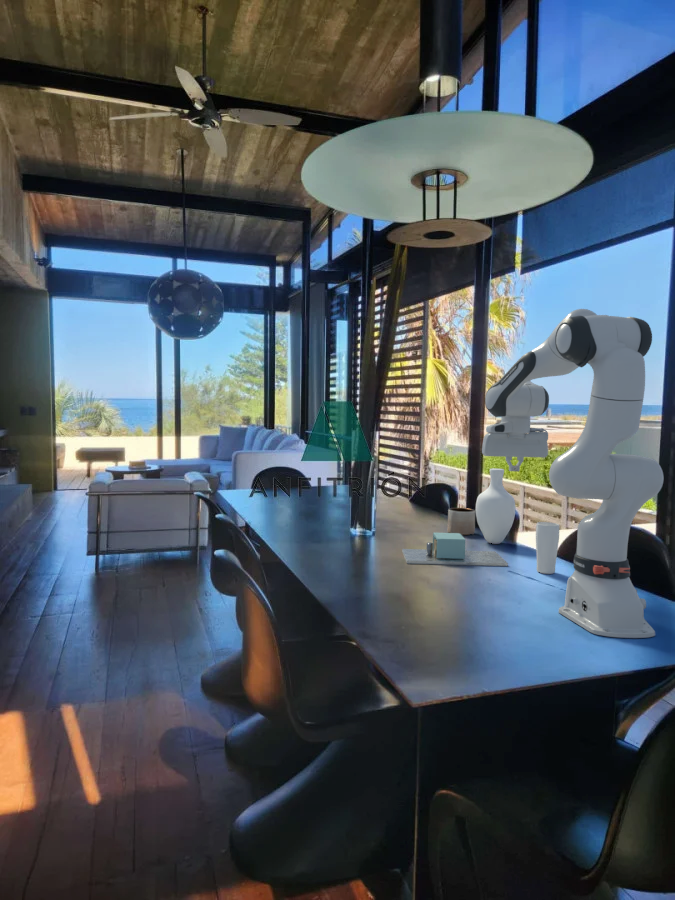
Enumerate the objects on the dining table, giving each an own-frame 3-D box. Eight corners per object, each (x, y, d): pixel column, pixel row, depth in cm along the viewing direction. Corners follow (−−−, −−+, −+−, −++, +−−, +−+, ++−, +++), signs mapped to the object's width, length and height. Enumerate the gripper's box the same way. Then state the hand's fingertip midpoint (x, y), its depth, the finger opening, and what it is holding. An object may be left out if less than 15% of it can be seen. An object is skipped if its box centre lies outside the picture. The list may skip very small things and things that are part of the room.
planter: (477, 536, 232) (478, 512, 232) (449, 535, 233) (450, 511, 232) (471, 530, 243) (472, 507, 243) (445, 530, 243) (445, 507, 243)
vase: (499, 538, 229) (502, 467, 227) (522, 546, 215) (525, 470, 214) (467, 540, 224) (469, 467, 223) (488, 548, 211) (491, 470, 209)
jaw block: (447, 557, 192) (448, 542, 192) (435, 556, 192) (436, 541, 192) (445, 554, 196) (446, 539, 196) (433, 553, 196) (434, 539, 196)
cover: (464, 558, 189) (465, 539, 189) (436, 558, 189) (437, 538, 189) (459, 551, 199) (459, 533, 199) (432, 550, 199) (433, 532, 199)
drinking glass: (559, 576, 176) (561, 526, 175) (535, 574, 177) (537, 525, 176) (555, 570, 182) (557, 522, 181) (532, 568, 184) (534, 521, 183)
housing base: (507, 566, 186) (508, 550, 186) (406, 563, 187) (407, 547, 186) (495, 554, 202) (495, 539, 202) (402, 551, 202) (402, 537, 202)
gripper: (544, 428, 188) (543, 471, 189) (481, 427, 189) (480, 469, 189) (552, 428, 182) (550, 472, 183) (486, 426, 182) (484, 471, 183)
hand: (514, 471), depth 186 cm, fingers closed
